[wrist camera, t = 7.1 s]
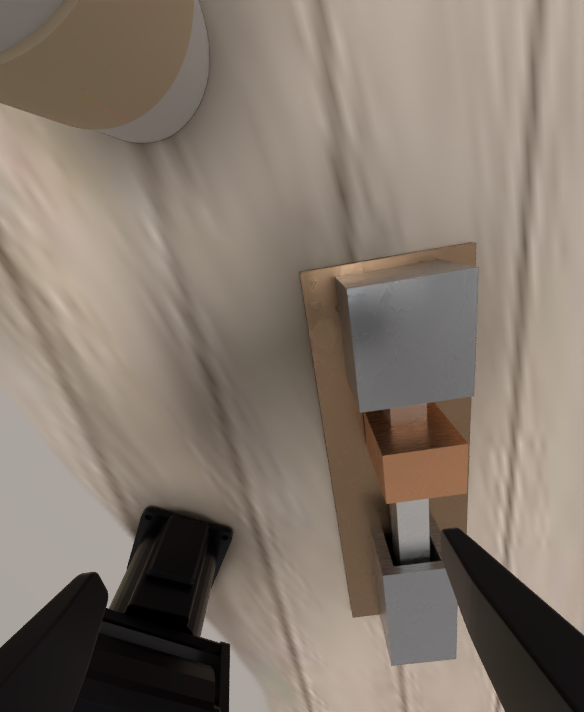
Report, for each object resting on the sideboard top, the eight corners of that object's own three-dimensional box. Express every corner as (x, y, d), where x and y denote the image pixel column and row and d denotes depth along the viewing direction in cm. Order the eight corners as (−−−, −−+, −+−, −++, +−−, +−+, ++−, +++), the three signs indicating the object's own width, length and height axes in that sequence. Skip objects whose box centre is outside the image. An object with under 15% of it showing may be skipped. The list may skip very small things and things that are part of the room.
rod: (433, 541, 24) (463, 606, 20) (377, 548, 24) (395, 614, 20) (429, 329, 18) (471, 359, 14) (356, 340, 18) (375, 373, 14)
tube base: (461, 598, 27) (489, 660, 23) (351, 610, 28) (361, 674, 24) (471, 242, 17) (524, 246, 13) (299, 271, 18) (302, 284, 14)
